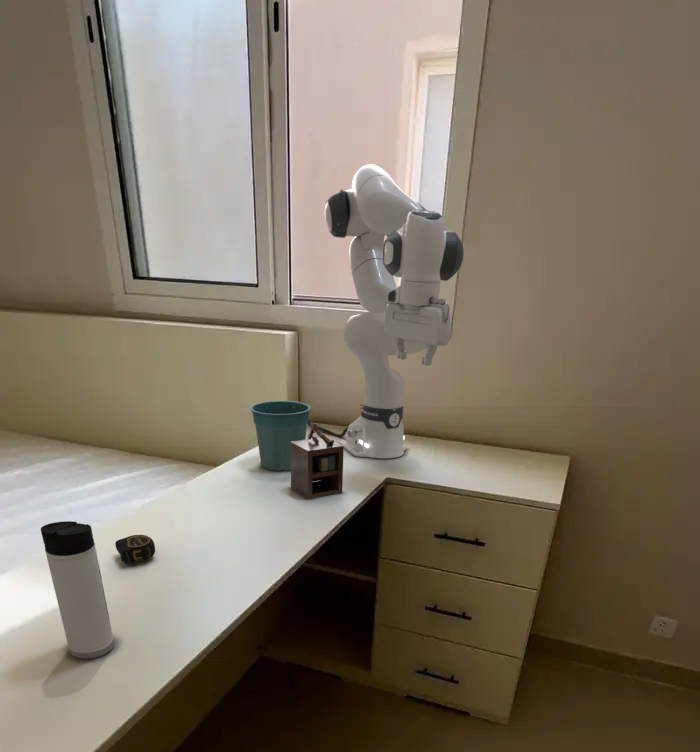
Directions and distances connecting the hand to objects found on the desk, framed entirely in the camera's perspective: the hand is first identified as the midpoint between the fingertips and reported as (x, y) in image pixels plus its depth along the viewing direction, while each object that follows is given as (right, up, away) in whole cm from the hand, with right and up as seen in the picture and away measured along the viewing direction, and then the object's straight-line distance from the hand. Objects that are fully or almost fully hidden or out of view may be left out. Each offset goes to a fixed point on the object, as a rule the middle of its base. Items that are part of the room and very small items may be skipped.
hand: (413, 361), depth 142 cm
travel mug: (-54, -64, -52) cm, 98 cm away
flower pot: (-34, -18, +29) cm, 49 cm away
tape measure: (-57, -49, -26) cm, 79 cm away
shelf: (-24, -28, +12) cm, 39 cm away
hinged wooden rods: (-22, -18, +5) cm, 29 cm away
